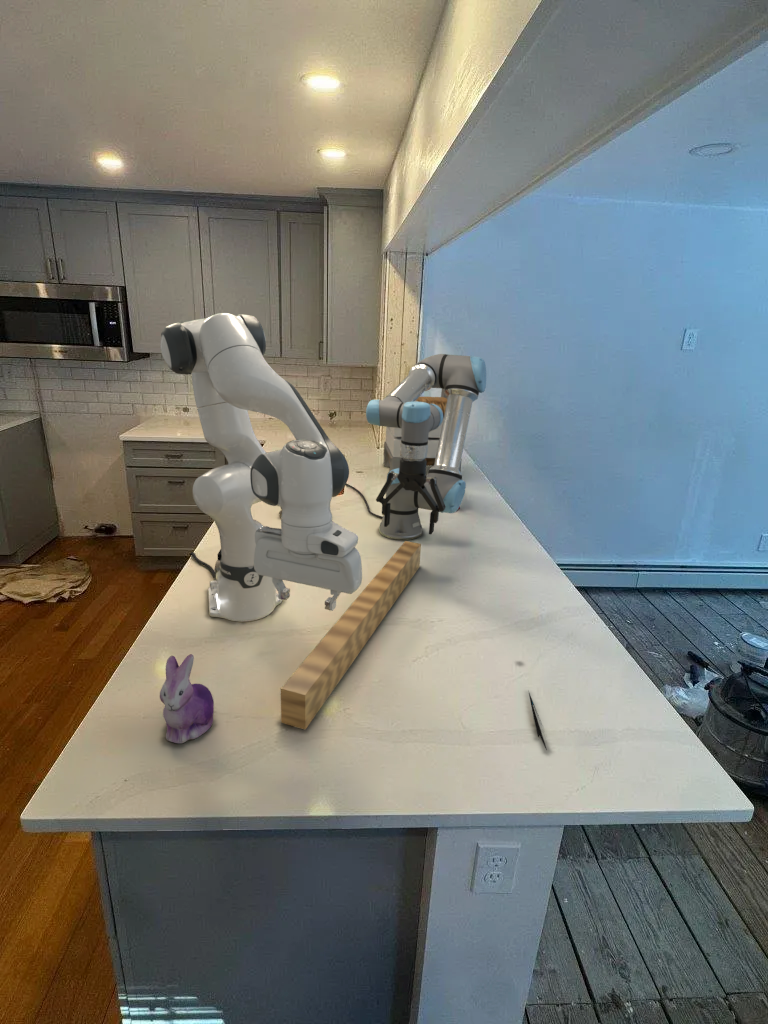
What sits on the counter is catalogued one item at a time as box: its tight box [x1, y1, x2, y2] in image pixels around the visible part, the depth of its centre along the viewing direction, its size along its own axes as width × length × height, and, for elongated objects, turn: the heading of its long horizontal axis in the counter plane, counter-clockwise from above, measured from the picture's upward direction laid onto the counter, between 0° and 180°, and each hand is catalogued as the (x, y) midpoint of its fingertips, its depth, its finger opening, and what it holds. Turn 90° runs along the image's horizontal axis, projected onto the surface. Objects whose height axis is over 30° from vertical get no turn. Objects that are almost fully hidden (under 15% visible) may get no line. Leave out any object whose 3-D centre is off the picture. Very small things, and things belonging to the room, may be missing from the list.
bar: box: [280, 540, 422, 730], centre depth 140 cm, size 78×5×8 cm, turn 161°
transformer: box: [383, 389, 463, 474], centre depth 268 cm, size 34×33×41 cm
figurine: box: [159, 653, 215, 744], centre depth 102 cm, size 9×10×15 cm
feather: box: [528, 689, 548, 751], centre depth 116 cm, size 2×28×2 cm
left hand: (306, 603), depth 104 cm, fingers open, 8 cm apart
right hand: (408, 529), depth 166 cm, fingers open, 13 cm apart
